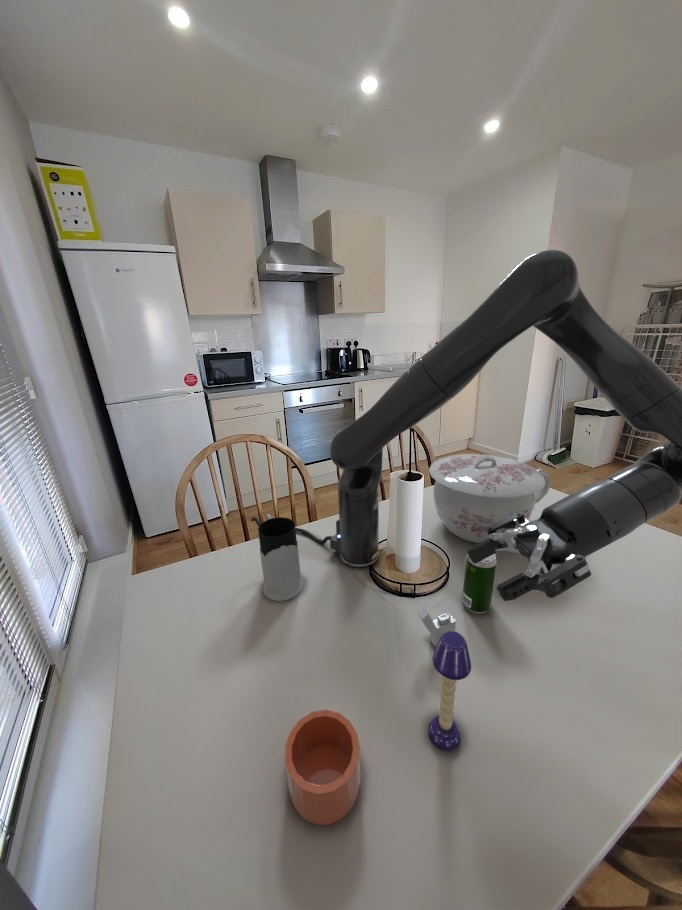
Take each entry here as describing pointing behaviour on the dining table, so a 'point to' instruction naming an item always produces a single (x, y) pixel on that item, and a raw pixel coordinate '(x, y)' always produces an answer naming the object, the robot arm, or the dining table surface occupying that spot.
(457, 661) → the toy lamp
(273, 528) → the glass holder
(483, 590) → the beer can
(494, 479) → the chamber pot
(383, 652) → the dining table surface
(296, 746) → the orange cylindrical pot
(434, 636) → the lighter
